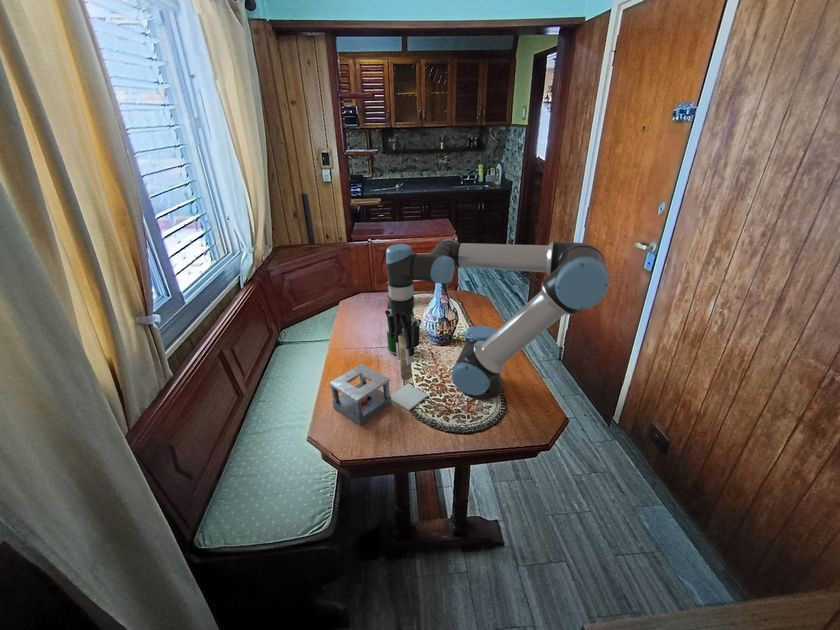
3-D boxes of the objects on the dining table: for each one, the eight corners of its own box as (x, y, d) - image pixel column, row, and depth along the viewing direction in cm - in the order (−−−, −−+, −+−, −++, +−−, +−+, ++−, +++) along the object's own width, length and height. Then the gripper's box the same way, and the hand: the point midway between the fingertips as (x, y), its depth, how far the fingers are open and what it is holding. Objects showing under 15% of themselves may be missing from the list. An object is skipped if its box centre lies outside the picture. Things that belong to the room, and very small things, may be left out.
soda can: (404, 356, 157) (402, 331, 152) (386, 355, 159) (384, 329, 153) (408, 346, 164) (406, 322, 158) (391, 345, 165) (389, 320, 160)
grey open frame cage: (391, 403, 132) (389, 378, 127) (360, 426, 123) (356, 400, 118) (364, 387, 140) (361, 363, 135) (333, 407, 131) (329, 382, 126)
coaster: (428, 396, 135) (428, 394, 134) (408, 411, 128) (408, 409, 128) (407, 384, 141) (407, 383, 140) (387, 398, 134) (387, 397, 134)
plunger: (370, 402, 131) (369, 391, 129) (361, 409, 128) (360, 397, 126) (363, 398, 133) (361, 386, 131) (354, 404, 131) (352, 392, 129)
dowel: (413, 376, 131) (411, 335, 123) (406, 381, 128) (404, 339, 121) (406, 372, 133) (403, 331, 125) (398, 377, 130) (395, 336, 123)
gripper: (430, 299, 114) (431, 364, 125) (391, 285, 124) (395, 347, 135) (413, 307, 109) (416, 375, 120) (373, 293, 119) (379, 356, 130)
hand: (405, 360), depth 127 cm, fingers closed on dowel, 3 cm apart
